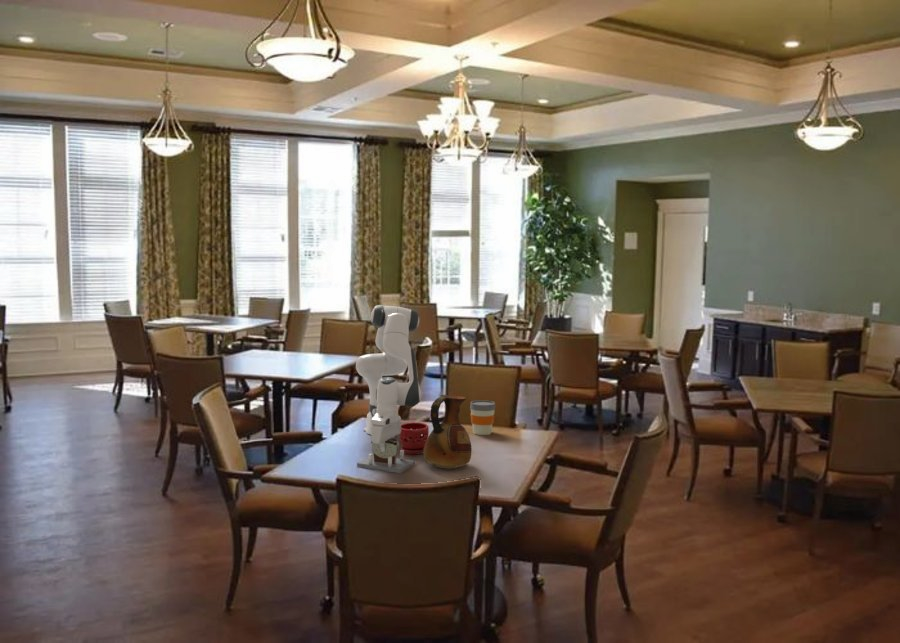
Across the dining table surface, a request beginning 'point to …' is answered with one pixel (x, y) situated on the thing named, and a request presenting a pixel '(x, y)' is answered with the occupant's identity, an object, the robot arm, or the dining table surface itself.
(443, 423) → the ceramic pitcher
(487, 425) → the reusable coffee cup
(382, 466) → the pin tray
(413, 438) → the plant pot
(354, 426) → the dining table surface
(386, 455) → the food container
